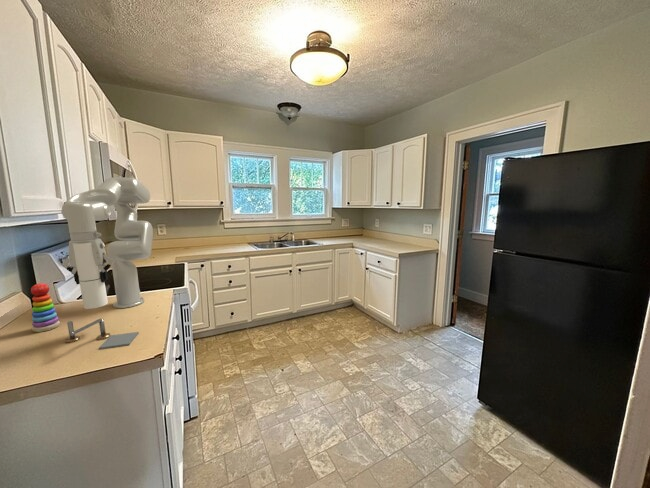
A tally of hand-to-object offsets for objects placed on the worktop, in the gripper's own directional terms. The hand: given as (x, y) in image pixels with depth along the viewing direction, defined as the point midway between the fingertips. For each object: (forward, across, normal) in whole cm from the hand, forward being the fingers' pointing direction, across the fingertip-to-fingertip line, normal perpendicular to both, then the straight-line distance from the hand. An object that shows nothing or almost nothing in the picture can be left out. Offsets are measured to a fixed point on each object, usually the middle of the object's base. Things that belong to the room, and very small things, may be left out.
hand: (92, 281), depth 103 cm
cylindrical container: (+10, 0, 0) cm, 10 cm away
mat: (+20, -11, +12) cm, 26 cm away
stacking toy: (+20, +22, -9) cm, 31 cm away
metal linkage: (+20, +1, +11) cm, 23 cm away
